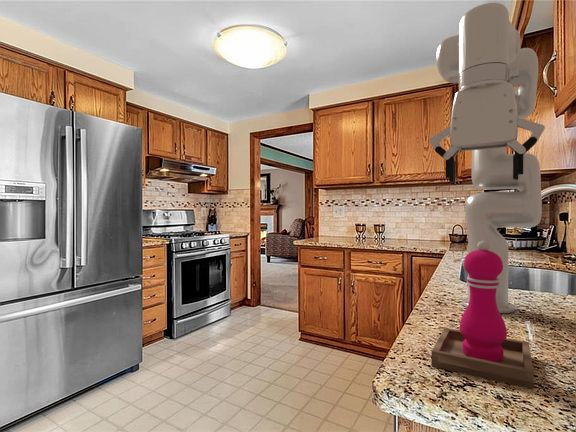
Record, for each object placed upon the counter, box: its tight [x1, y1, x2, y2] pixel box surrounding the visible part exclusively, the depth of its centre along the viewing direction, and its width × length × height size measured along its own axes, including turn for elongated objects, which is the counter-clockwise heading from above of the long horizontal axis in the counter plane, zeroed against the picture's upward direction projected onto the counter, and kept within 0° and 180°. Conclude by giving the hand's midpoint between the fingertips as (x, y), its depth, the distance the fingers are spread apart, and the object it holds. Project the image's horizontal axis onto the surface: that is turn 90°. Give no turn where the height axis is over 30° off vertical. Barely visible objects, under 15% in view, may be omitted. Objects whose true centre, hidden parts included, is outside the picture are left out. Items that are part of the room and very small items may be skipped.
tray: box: [430, 327, 534, 390], centre depth 59 cm, size 14×14×2 cm
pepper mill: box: [459, 241, 508, 362], centre depth 60 cm, size 7×7×20 cm
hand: (482, 180), depth 59 cm, fingers open, 9 cm apart
